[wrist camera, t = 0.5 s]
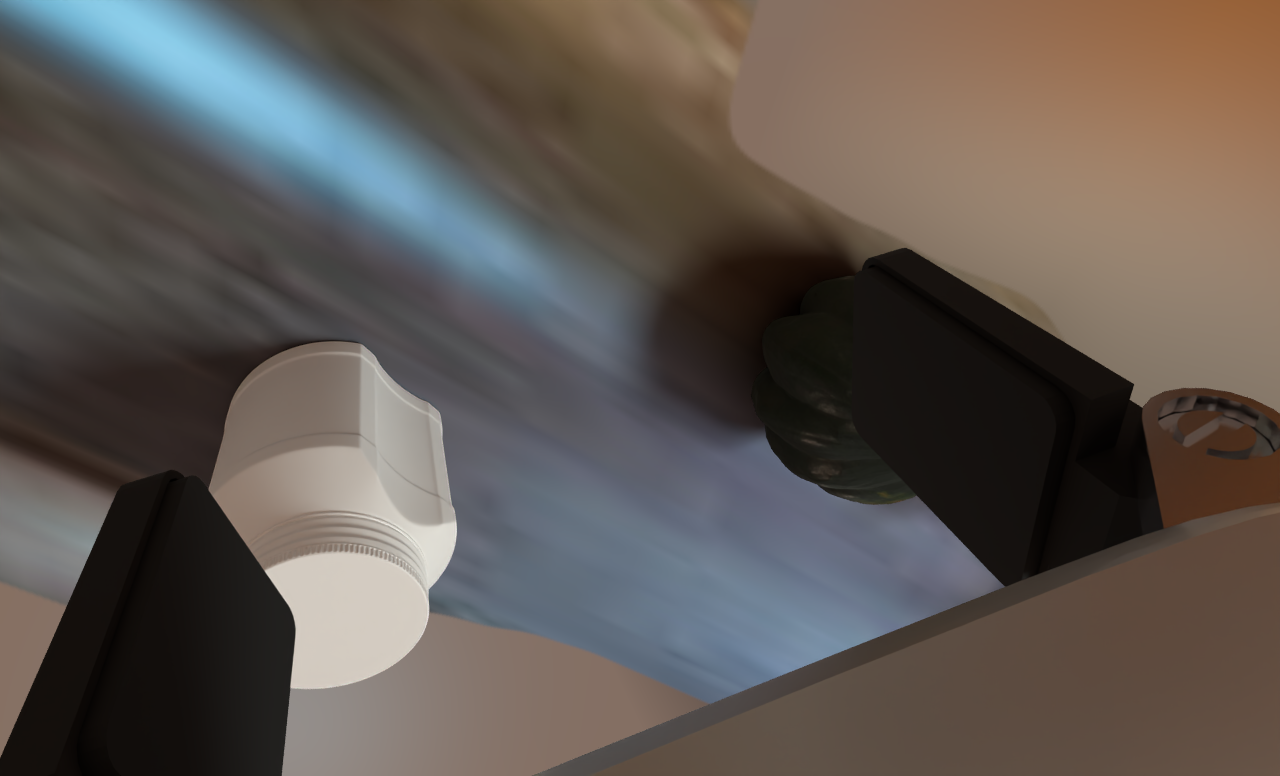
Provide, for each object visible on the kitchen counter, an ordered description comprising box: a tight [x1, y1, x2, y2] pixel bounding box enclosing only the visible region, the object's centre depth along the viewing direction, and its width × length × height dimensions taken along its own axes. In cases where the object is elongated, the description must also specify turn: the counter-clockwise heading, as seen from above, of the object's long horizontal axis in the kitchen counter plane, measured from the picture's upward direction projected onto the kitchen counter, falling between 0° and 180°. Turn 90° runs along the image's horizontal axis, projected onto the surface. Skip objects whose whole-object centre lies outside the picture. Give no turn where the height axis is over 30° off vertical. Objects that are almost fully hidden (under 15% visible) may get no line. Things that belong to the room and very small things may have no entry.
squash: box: [751, 276, 916, 505], centre depth 46 cm, size 14×15×15 cm
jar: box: [209, 341, 457, 689], centre depth 36 cm, size 12×10×15 cm
